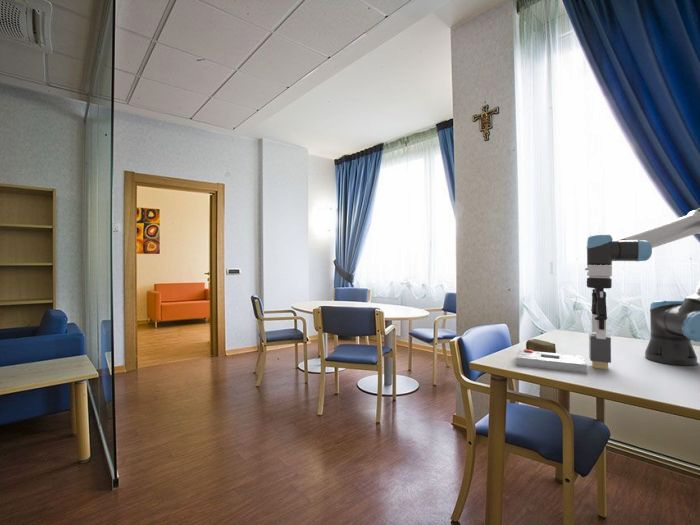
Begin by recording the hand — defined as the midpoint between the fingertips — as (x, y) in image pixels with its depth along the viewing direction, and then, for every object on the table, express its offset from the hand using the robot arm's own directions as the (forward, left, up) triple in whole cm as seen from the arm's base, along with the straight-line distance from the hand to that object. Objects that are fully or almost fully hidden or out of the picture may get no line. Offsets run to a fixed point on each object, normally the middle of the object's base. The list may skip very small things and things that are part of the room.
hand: (598, 335), depth 133 cm
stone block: (+19, -14, -12) cm, 26 cm away
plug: (0, 0, -12) cm, 12 cm away
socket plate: (+16, +4, -12) cm, 20 cm away
